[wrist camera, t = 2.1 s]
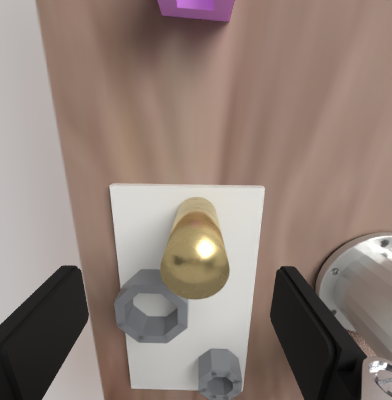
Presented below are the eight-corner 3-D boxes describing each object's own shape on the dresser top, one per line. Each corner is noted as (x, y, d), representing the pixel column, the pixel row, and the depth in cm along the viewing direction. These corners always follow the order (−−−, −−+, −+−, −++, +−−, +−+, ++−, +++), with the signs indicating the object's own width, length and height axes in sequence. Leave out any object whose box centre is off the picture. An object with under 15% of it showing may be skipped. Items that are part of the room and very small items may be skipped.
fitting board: (261, 185, 20) (274, 194, 17) (241, 382, 28) (246, 415, 25) (113, 183, 21) (96, 191, 17) (133, 380, 28) (124, 412, 25)
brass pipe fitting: (223, 205, 20) (241, 254, 11) (207, 239, 21) (212, 307, 12) (185, 190, 20) (174, 229, 11) (171, 225, 21) (151, 286, 12)
